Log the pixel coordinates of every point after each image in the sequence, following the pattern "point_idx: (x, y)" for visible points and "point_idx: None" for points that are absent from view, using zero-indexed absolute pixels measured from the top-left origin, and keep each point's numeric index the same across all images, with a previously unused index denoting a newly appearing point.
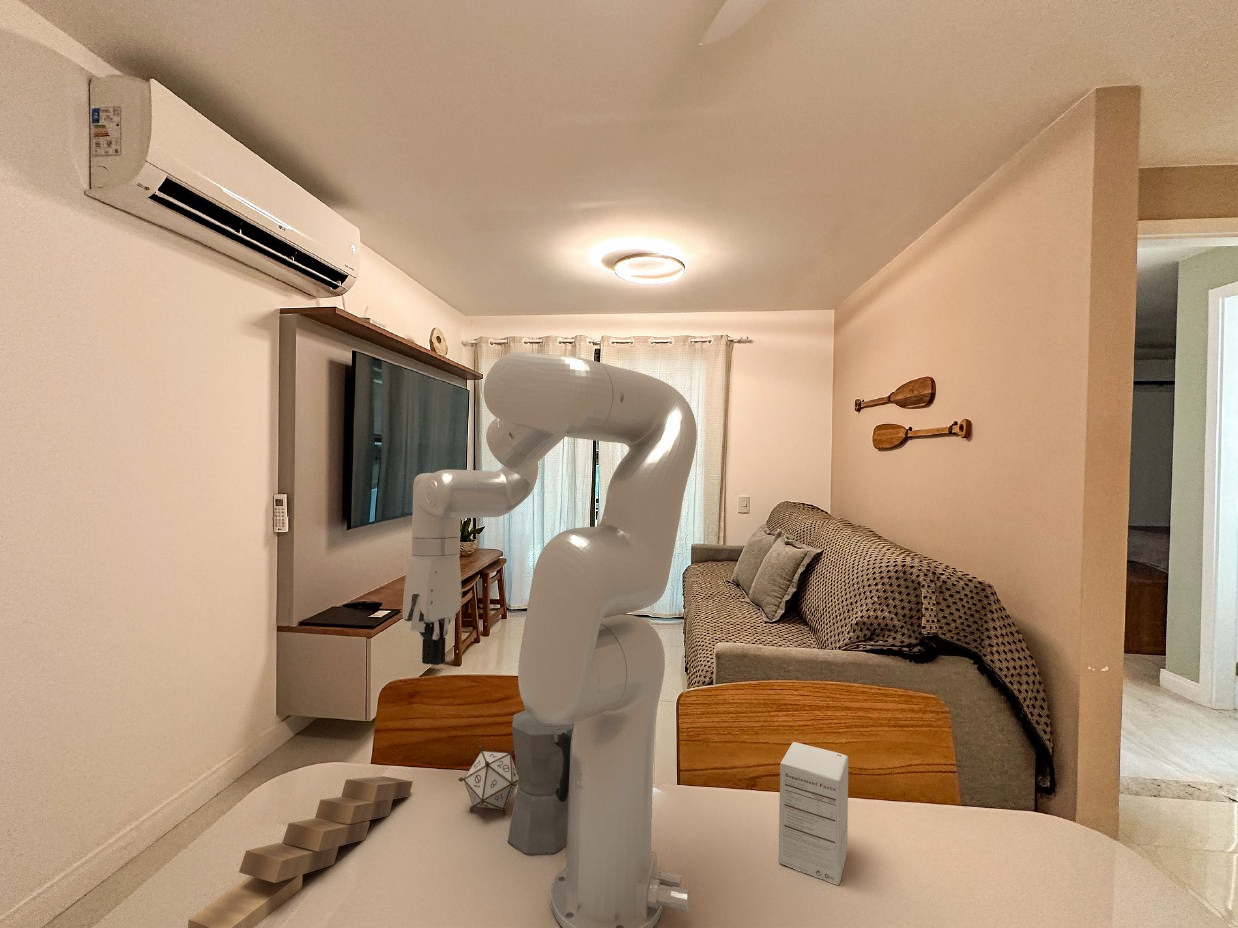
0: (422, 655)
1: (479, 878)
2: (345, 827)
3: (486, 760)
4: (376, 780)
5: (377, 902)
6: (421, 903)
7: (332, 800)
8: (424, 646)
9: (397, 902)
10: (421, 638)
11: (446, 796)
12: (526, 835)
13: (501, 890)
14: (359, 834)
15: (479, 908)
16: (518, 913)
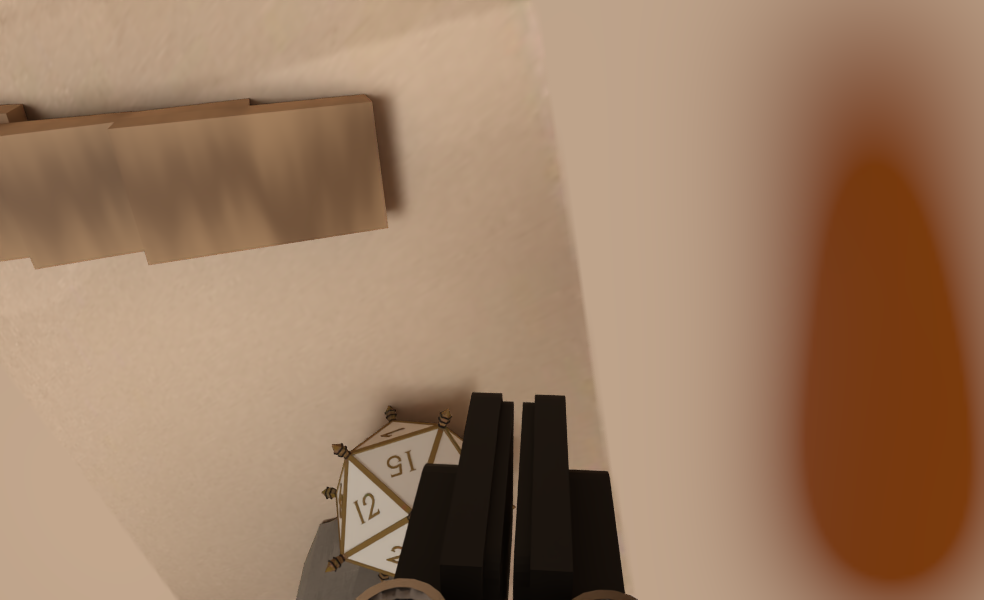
0: (467, 428)
1: (207, 509)
2: (28, 256)
3: (362, 549)
4: (235, 183)
5: (50, 377)
6: (99, 448)
7: (21, 167)
8: (403, 546)
9: (73, 410)
10: (369, 594)
11: (429, 316)
12: (299, 587)
13: (204, 549)
14: None
15: (149, 533)
16: (176, 585)
